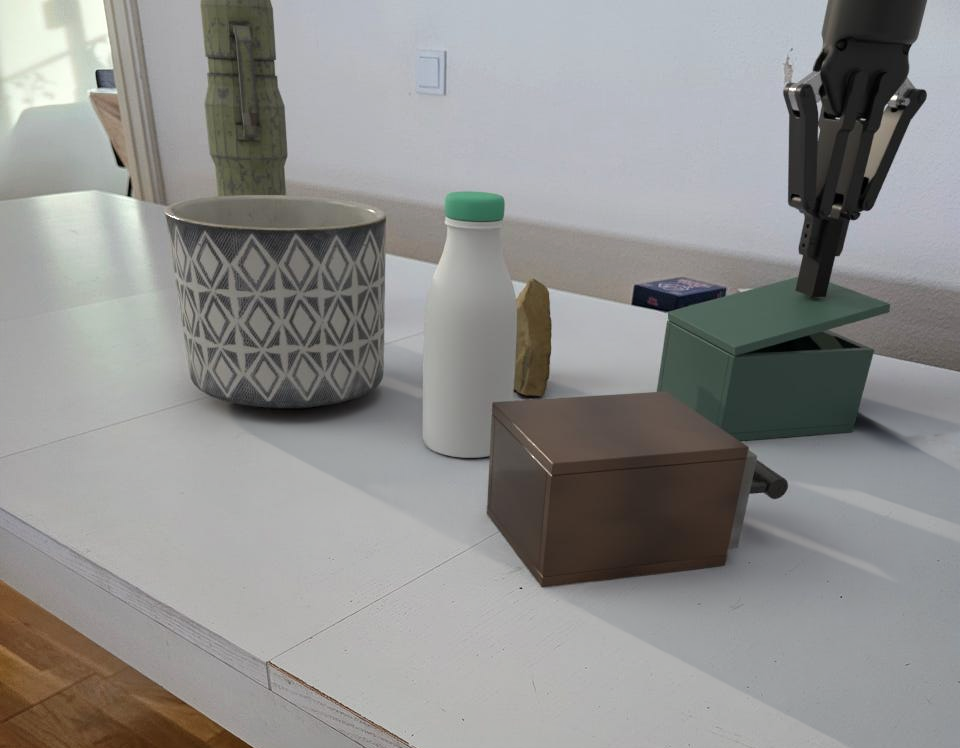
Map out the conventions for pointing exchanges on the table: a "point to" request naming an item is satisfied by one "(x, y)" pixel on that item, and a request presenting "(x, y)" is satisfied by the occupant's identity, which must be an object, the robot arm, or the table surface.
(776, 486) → the drawer
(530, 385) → the rock
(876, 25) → the robot arm
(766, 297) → the lid
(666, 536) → the cabinet
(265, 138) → the thermos
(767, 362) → the chest
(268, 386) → the planter
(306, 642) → the table surface
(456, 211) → the milk bottle
